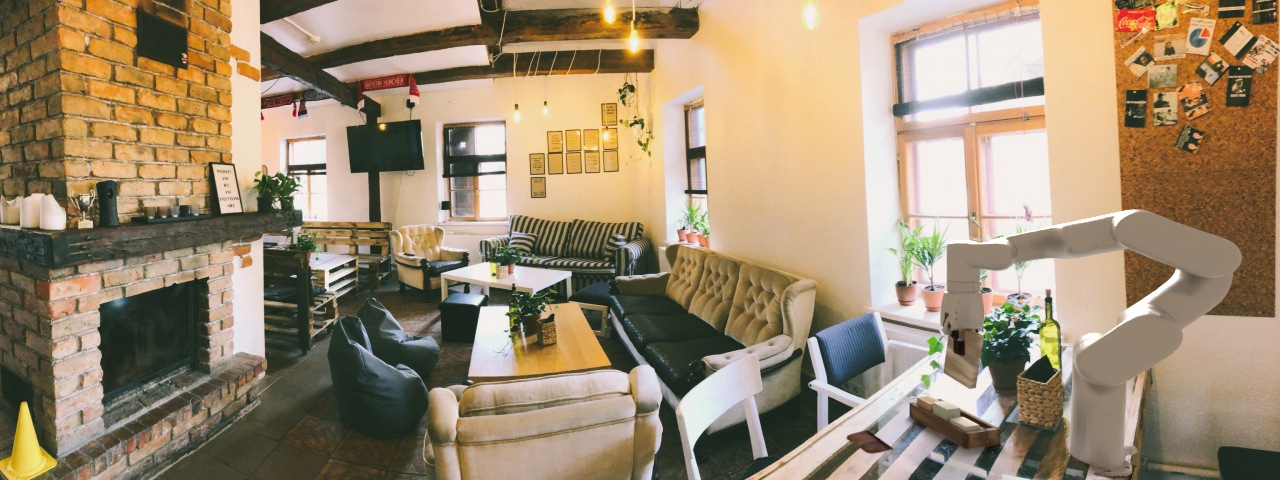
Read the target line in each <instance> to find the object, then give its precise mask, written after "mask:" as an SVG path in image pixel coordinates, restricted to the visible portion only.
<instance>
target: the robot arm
mask: <svg viewBox="0 0 1280 480" xmlns="http://www.w3.org/2000/svg"><path fill="white" fill-rule="evenodd" d="M1122 250H1123V251H1124V250H1130V251H1132V252H1135V253H1137V254H1139V255H1142V256H1144V257H1147V258H1149V259H1152V260H1154V261H1157V262H1160V263H1161V264H1164V265H1167V266H1170V267H1171V268H1175V271H1174V272H1173V274H1172V276H1171V277H1170V278H1169V279H1168V280H1167V281H1166V282H1164V283H1163V284H1162V285H1161V286H1160V287H1158V288H1157V289H1156V290H1154V291H1153V292H1151V293H1150V294H1148V295H1147V296H1145V297H1143V298H1142V299H1140V300H1139V301H1137V302H1136V303H1134V304H1132V305H1131V306H1129V307H1127V308H1126V309H1124V310H1123V311H1122V312H1121V313H1120V314H1119V315H1118V317H1117V318H1116V326H1115V327H1114V328H1112V329H1111V330H1109V331H1108V332H1106V333H1103V332H1089V333H1086V334H1083V335H1081V336H1080V337H1078V338H1077V339H1076V341H1075V342H1074V344H1073V346H1072V349H1071V350H1072V351H1071V358H1072V359H1071V367H1072V368H1071V370H1072V371H1071V373H1072V374H1071V375H1072V376H1071V380H1072V381H1071V395H1070V396H1071V399H1070V400H1071V401H1070V402H1071V403H1070V431H1069V432H1070V433H1069V436H1070V437H1069V454H1070V455H1071V457H1073V458H1074V459H1076V460H1078V461H1080V462H1082V463H1084V464H1087V465H1091V466H1093V467H1097V468H1104V469H1107V470H1104V471H1098V472H1093V474H1095V475H1099V476H1103V477H1112V478H1117V477H1116V476H1120V477H1119V478H1122V477H1121V476H1124V477H1128V476H1131V475H1132V473H1133V465H1132V464H1131V463H1130V462H1129V461H1128V460H1126V457H1128V456H1129V455H1134V454H1135V455H1136V454H1137V453H1138V448H1137V447H1136V446H1134V445H1132V444H1131V445H1129V444H1128V445H1125V433H1126V431H1125V427H1126V426H1125V425H1126V407H1127V382H1128V381H1130V380H1132V379H1135V378H1136V377H1138V376H1139V375H1141V374H1142V373H1144V372H1146V371H1148V370H1150V369H1151V368H1153V367H1155V366H1156V365H1158V364H1159V363H1161V362H1162V361H1164V360H1166V359H1168V358H1169V357H1170V356H1172V355H1173V354H1174V353H1176V351H1177V350H1178V349H1179V348H1180V347H1181V345H1182V343H1183V339H1184V333H1183V330H1184V329H1185V328H1187V327H1188V326H1190V325H1191V324H1192V323H1194V322H1196V321H1197V320H1199V319H1200V318H1201V317H1203V316H1204V315H1206V314H1207V313H1209V312H1210V311H1211V310H1212V309H1214V308H1215V307H1217V306H1218V305H1219V304H1220V303H1221V302H1222V301H1223V300H1224V299H1225V297H1226V296H1227V294H1228V293H1229V291H1230V288H1231V286H1232V283H1233V278H1234V272H1235V271H1236V270H1237V269H1239V267H1240V265H1241V263H1242V260H1243V256H1242V255H1243V254H1242V252H1241V250H1240V248H1239V247H1238V246H1237V244H1235V243H1234V242H1232V241H1231V240H1230V239H1226V238H1224V237H1221V236H1219V235H1215V234H1213V233H1209V232H1207V231H1203V230H1200V229H1197V228H1195V227H1192V226H1190V225H1186V224H1183V223H1180V222H1177V221H1174V220H1172V219H1170V218H1167V217H1164V216H1162V215H1159V214H1157V213H1154V212H1152V211H1148V210H1145V209H1141V208H1140V209H1138V208H1137V209H1135V208H1134V209H1127V210H1121V211H1119V212H1113V213H1109V214H1105V215H1099V216H1095V217H1091V218H1085V219H1080V220H1076V221H1072V222H1067V223H1061V224H1056V225H1052V226H1049V227H1045V228H1041V229H1037V230H1036V229H1035V230H1032V231H1031V230H1030V231H1027V232H1026V231H1025V232H1022V233H1016V234H1012V235H1007V236H1003V237H998V238H995V239H992V240H990V241H988V242H980V243H979V242H977V241H976V240H975V241H974V240H952V241H950V242H948V243H947V245H946V291H944V292H943V295H942V299H941V304H940V314H939V315H940V317H939V322H940V326H941V327H942V330H941V332H942V333H943V334H947V335H950V336H951V338H952V339H953V352H954V353H955V354H958V355H961V356H964V355H965V341H963V330H966V329H971V330H973V331H975V332H977V333H979V332H982V331H983V330H984V329H985V327H984V324H985V307H984V300H983V299H984V298H983V294H982V292H981V286H982V281H981V270H985V271H986V270H987V271H991V272H992V271H993V272H1001V271H1005V270H1009V269H1010V268H1011V267H1012V266H1013V265H1014V264H1020V263H1025V262H1031V261H1037V260H1038V261H1039V260H1044V259H1060V260H1071V259H1079V258H1085V257H1090V256H1096V255H1101V254H1105V253H1106V254H1107V253H1113V252H1117V251H1119V252H1120V251H1122ZM956 331H957V333H956ZM1114 476H1115V477H1114ZM1124 477H1123V478H1124Z"/></svg>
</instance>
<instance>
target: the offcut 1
mask: <svg viewBox="0 0 1280 480" xmlns="http://www.w3.org/2000/svg"><path fill="white" fill-rule="evenodd" d="M936 399H937V398H934V397H932V396H930V395H927V396H919V397H917V399H916V402H917V405H918V406H920V407H922V408H924V409H926V410H928V411H929V412H931V413H933V402H940V401H938V400H936Z"/></svg>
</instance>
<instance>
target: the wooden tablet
mask: <svg viewBox="0 0 1280 480" xmlns="http://www.w3.org/2000/svg"><path fill="white" fill-rule="evenodd" d="M846 439H847V440H848V441H850V442H852V443H854V444H855V443H856V444H858V446H859V448H861V449H862V450H863V451H865V452H867V453H875V452H881V451H886V450H890V449H891V450H892V449H893V447H892V446H890V445H889V444H887V442H885V441H883V440H882V439H881V438H880V437H878V436H877V435H875V434H874V433H872V432H871V431H870V430H863V431H858V432H854V433H850V434H847V435H846Z"/></svg>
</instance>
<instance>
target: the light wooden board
mask: <svg viewBox="0 0 1280 480" xmlns="http://www.w3.org/2000/svg"><path fill="white" fill-rule="evenodd" d="M956 333H957V331H956ZM947 335H948V336H947V343H946V350H945V357H944V364H943V365H944V366H943V372H942V373H943V374H944V375H946V376H948V377H950V378H951V379H953V380H955V381H956V382H958V384H960V385H962V386H964V387H965V388H967V389H968V390H970V389H971V390H972V389H977V382H978V376H979V369H980V362H981V357H982V352H983V351H982V350H983V345H984V344H983V343H984V339H985V338H984V337H985V335H983V334H982V333H979V332H978V333H977V332H975V331H973V330H971V329H966V330H963V341H965V355H964V356H961V355H958V354H955V353H954V352H953V339H952V338H951V336H950V335H949V334H947Z"/></svg>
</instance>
